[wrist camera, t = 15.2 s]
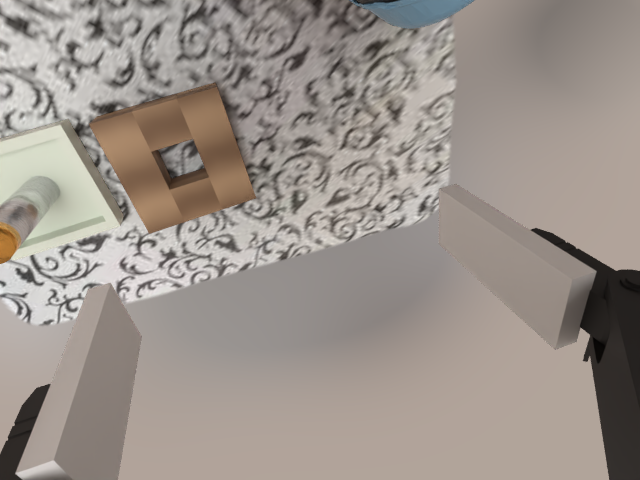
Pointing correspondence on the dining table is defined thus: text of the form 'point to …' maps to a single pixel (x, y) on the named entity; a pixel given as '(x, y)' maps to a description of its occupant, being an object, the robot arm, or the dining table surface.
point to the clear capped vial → (24, 213)
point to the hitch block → (165, 130)
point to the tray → (72, 179)
